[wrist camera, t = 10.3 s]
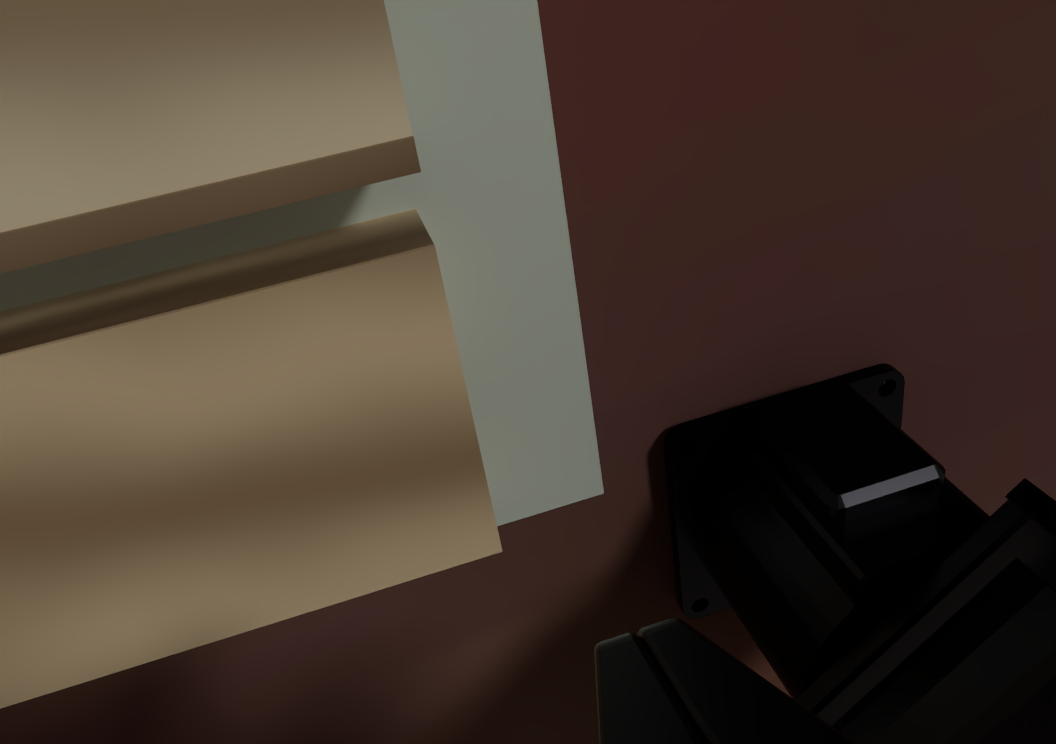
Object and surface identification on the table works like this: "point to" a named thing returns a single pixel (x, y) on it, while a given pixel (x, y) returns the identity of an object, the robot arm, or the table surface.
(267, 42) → the plank
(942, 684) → the robot arm
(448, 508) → the oak board
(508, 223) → the underlay mat
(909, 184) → the table surface
